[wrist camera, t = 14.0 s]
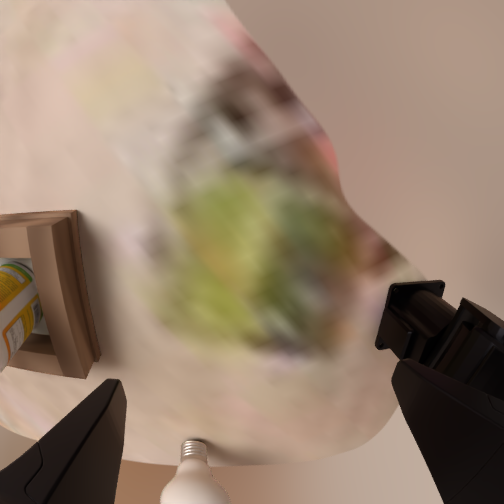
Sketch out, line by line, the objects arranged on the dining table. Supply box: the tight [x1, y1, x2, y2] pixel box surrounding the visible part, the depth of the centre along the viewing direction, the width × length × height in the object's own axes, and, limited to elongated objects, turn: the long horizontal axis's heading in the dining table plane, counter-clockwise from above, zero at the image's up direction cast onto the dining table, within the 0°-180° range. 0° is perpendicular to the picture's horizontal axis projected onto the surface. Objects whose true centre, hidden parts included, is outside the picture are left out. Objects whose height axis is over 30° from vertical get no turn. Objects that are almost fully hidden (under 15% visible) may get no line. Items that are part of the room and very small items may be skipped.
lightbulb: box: [160, 441, 231, 504], centre depth 22 cm, size 6×6×11 cm
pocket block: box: [0, 210, 101, 379], centre depth 18 cm, size 12×12×4 cm
